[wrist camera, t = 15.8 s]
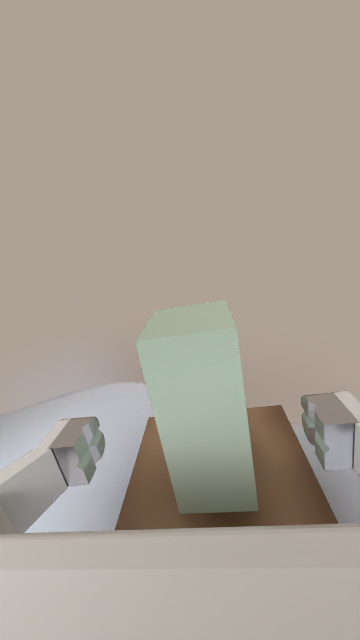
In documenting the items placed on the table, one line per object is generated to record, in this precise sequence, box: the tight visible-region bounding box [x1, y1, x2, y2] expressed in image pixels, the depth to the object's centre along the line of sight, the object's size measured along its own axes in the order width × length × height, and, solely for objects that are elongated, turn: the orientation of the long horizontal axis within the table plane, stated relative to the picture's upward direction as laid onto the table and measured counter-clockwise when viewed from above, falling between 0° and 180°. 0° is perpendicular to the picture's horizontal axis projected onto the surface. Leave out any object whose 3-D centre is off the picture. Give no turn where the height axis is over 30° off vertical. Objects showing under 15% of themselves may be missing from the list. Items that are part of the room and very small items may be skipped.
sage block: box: [135, 300, 259, 514], centre depth 14 cm, size 4×5×11 cm
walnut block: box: [115, 405, 338, 530], centre depth 17 cm, size 12×12×6 cm
